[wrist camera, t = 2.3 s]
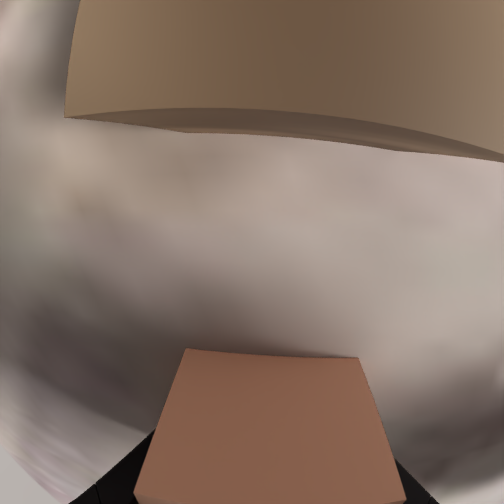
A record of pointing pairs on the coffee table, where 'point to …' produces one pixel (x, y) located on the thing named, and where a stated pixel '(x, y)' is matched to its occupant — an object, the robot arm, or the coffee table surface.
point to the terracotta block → (269, 434)
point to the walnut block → (298, 70)
